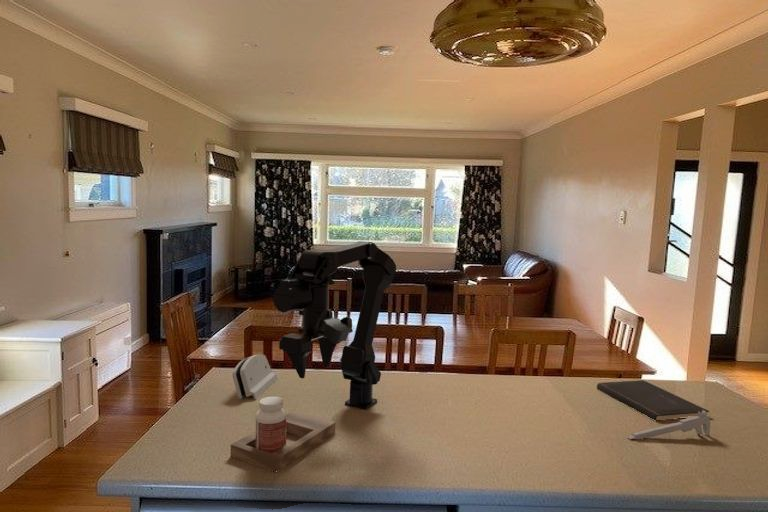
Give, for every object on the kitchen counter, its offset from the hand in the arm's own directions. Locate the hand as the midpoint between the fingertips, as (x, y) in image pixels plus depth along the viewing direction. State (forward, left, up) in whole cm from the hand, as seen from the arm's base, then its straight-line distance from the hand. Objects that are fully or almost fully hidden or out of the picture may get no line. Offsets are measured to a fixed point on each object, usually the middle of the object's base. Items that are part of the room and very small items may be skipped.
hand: (314, 372), depth 114 cm
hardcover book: (-61, +69, -14) cm, 93 cm away
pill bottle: (+15, 0, -13) cm, 20 cm away
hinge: (-12, -29, -13) cm, 34 cm away
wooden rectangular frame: (+10, 0, -13) cm, 16 cm away
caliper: (-39, +73, -14) cm, 84 cm away
